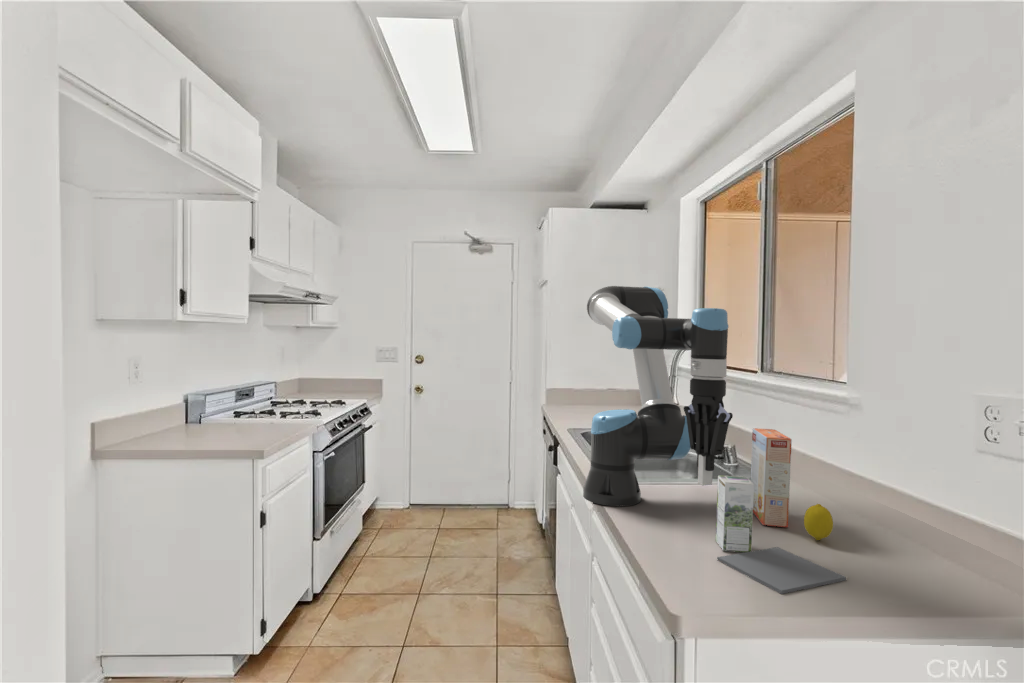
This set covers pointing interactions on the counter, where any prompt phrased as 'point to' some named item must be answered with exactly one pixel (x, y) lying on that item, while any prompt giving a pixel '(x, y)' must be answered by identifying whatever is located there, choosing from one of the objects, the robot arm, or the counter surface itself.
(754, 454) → the cracker box
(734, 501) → the syrup box
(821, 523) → the lemon
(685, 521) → the counter surface
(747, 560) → the mat
